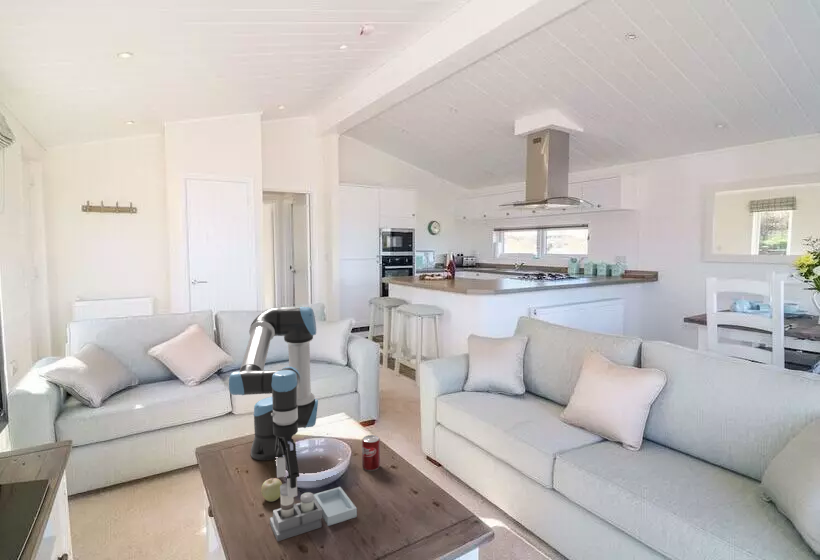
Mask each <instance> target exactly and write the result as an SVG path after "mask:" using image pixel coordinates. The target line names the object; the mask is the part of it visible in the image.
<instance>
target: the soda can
mask: <svg viewBox="0 0 820 560" xmlns="http://www.w3.org/2000/svg"><path fill="white" fill-rule="evenodd" d="M361 465H362V468H363V470H364V471H367V472H374V471H377V470H378V469H379V468H380V467H381V439H380V437H379V436H378V435H376V434H375V435H374V434H369V435H365V436H364V437H363V438H362V439H361Z"/></svg>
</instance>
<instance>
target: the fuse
mask: <svg viewBox="0 0 820 560" xmlns="http://www.w3.org/2000/svg"><path fill="white" fill-rule="evenodd" d="M280 495H281V496H280V508H281V520H283V519H287V518H290V517H293V516H294V504H295V500H294V498H295V497H291V498H288V483H287V482H284V483H282V485H281V486H280Z"/></svg>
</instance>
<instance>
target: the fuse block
mask: <svg viewBox="0 0 820 560" xmlns="http://www.w3.org/2000/svg"><path fill="white" fill-rule="evenodd" d="M314 494H315V493H313V492H310V491H309V492H304V493H302V494H301V495H300V502H297V503H294V516H293V517H290V518H287V519H283V520H281V507H279V508H276V509H273V510H272V517H269V525H270V527H271V530H272V532H273V535H274V536H275V539H276V542H281V541H282V540H287V539H289V538H292V537H295V536H299V535H301V534H302V535H303V534H305V533H307V532H310V531H311V532H312V531H315V530H317V529H320V528H322V526H323V525H322V520H321V519H323V517H322V509H321V507H320V506H319V504H318V502H317V501H316V499H315V498H314Z"/></svg>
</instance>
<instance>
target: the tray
mask: <svg viewBox="0 0 820 560" xmlns="http://www.w3.org/2000/svg"><path fill="white" fill-rule="evenodd" d="M313 494H314V498H315V499H316V501H317V502H318V504H319V506H320V507H321V509H322V519H323V520H324V522H325V523H326V524H325V525H326V526H327V527H330V526H332V525H336V524H338V523H342V522H345V521H347V520H348V521H349V520H350V519H351V520H352V519H354V518H357V517H358V516H357V515H358V510H357V509H358V508H357V507H356V505H355V503H354V502H353V501H352V500H351V498H350V497H349V496H348V494H347V493H346V492H345V491H344V490H343V488H342V487H341V486H338V487H334V488H331V489H328V490H324V491H321V492H317V493H313Z"/></svg>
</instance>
